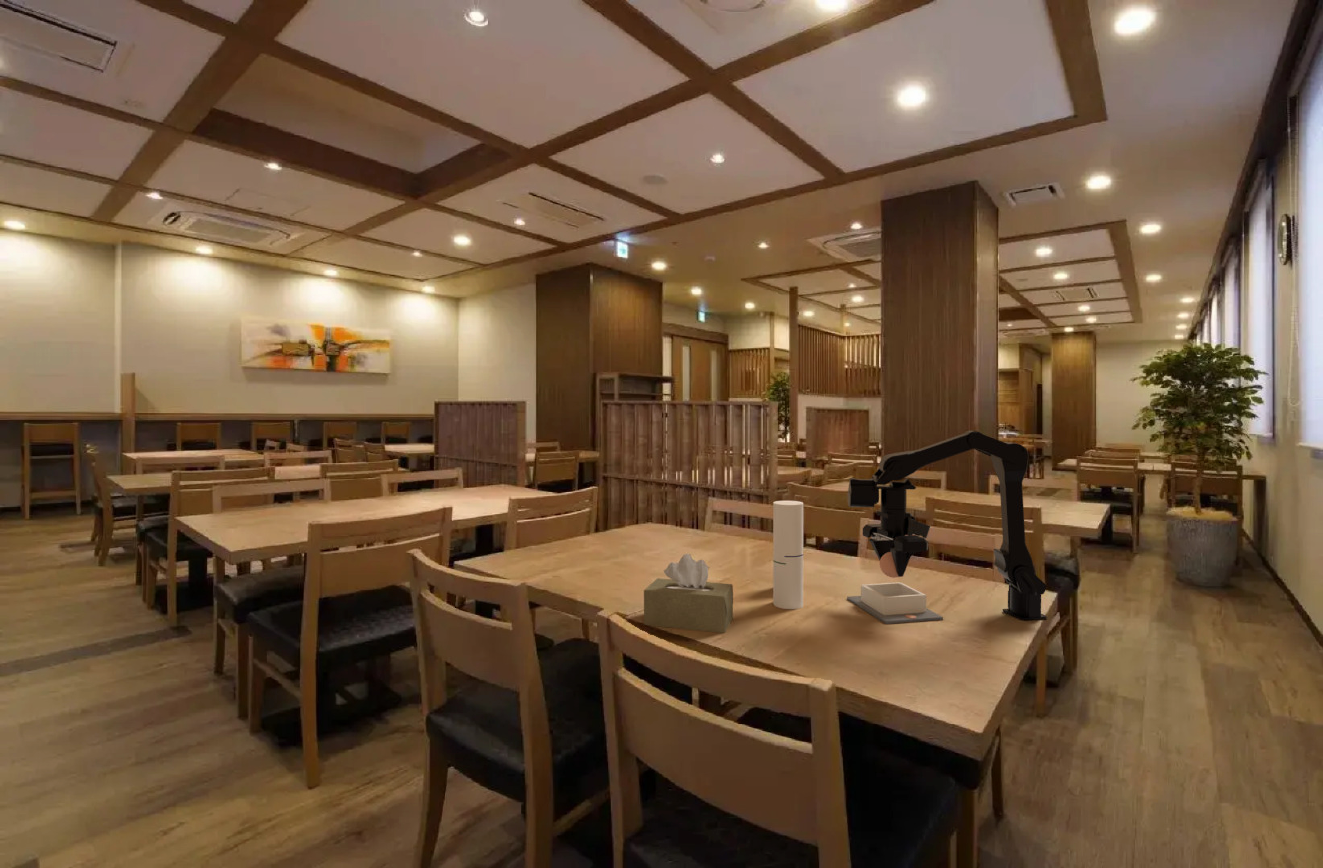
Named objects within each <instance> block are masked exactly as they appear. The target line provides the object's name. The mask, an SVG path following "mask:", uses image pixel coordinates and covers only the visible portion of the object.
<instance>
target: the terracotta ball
mask: <svg viewBox="0 0 1323 868" xmlns="http://www.w3.org/2000/svg"><path fill="white" fill-rule="evenodd" d="M879 568H880V570H881V572H882V573H883V574H884V575H885V576H887V577H889V578H892V579H893V578H900V577H899V576H898V574H897V571H896V568H895V564H894V561H893V557H892V553H891V552H888V553H886V554H884V555H883V556H882V557H881V559H880V560H879ZM907 568H908V566H907V567H906V570H905V572H906V571H907Z"/></svg>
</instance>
